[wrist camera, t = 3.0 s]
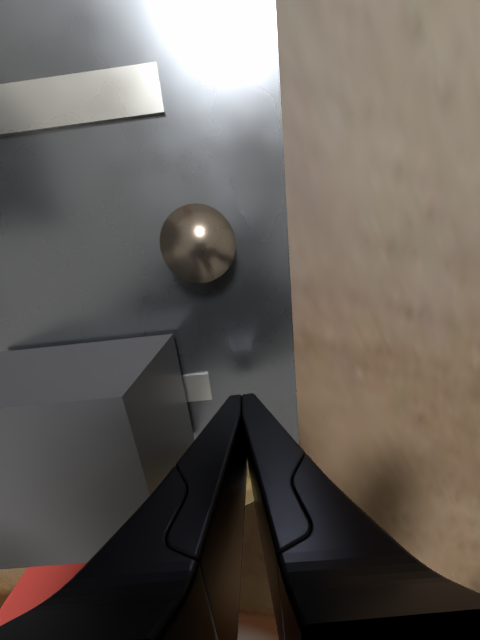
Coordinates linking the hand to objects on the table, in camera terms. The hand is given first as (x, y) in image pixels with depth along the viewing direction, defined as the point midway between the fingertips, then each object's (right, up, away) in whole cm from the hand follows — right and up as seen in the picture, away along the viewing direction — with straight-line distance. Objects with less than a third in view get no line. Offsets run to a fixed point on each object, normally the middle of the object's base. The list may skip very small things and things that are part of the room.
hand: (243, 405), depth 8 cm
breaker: (-6, 0, +1) cm, 6 cm away
